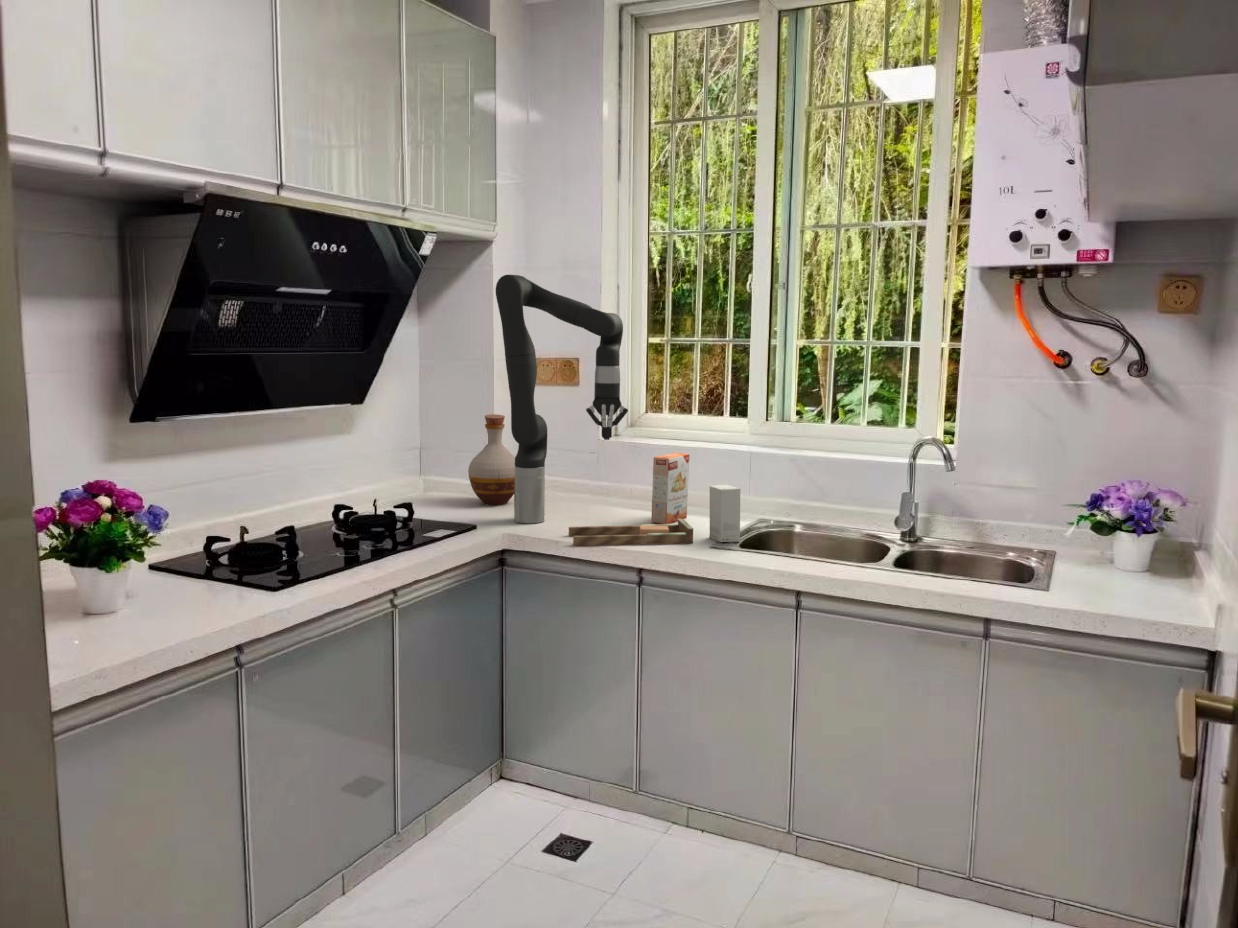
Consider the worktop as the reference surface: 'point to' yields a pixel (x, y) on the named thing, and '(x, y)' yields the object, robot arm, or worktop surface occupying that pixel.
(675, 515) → the cracker box
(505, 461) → the jug
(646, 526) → the terracotta block
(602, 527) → the track
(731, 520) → the skincare box
